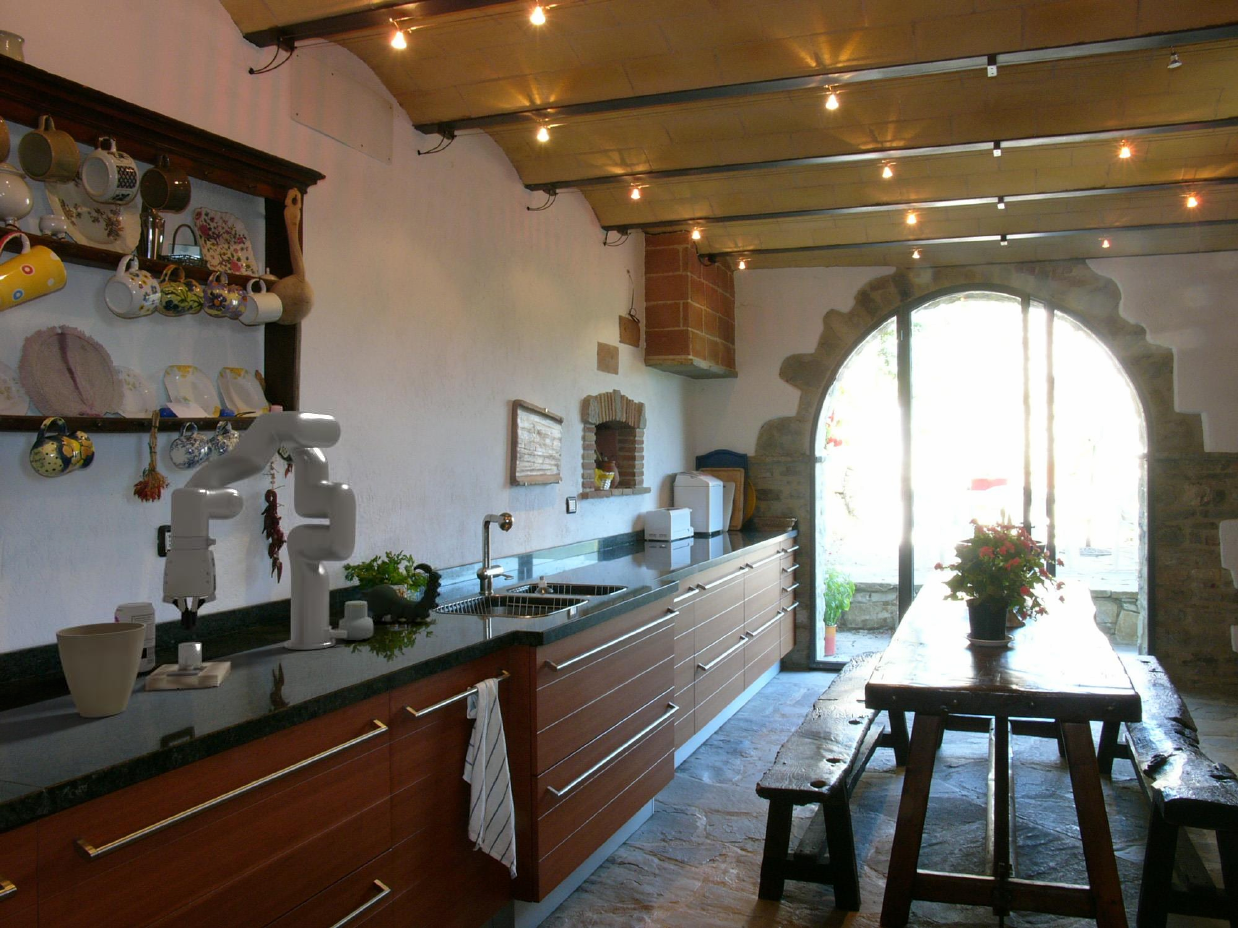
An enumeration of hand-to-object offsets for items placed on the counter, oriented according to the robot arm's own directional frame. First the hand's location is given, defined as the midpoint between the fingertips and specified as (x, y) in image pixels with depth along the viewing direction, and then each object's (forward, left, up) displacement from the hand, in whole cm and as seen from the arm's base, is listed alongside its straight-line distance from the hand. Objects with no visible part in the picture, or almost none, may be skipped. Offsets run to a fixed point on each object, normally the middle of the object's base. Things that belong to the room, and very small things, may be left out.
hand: (189, 629), depth 203 cm
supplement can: (+15, -15, -11) cm, 24 cm away
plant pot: (+10, +25, -11) cm, 29 cm away
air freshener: (-32, -45, -12) cm, 57 cm away
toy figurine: (-43, -72, -12) cm, 85 cm away
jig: (0, 0, -11) cm, 11 cm away
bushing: (0, 0, -11) cm, 11 cm away
